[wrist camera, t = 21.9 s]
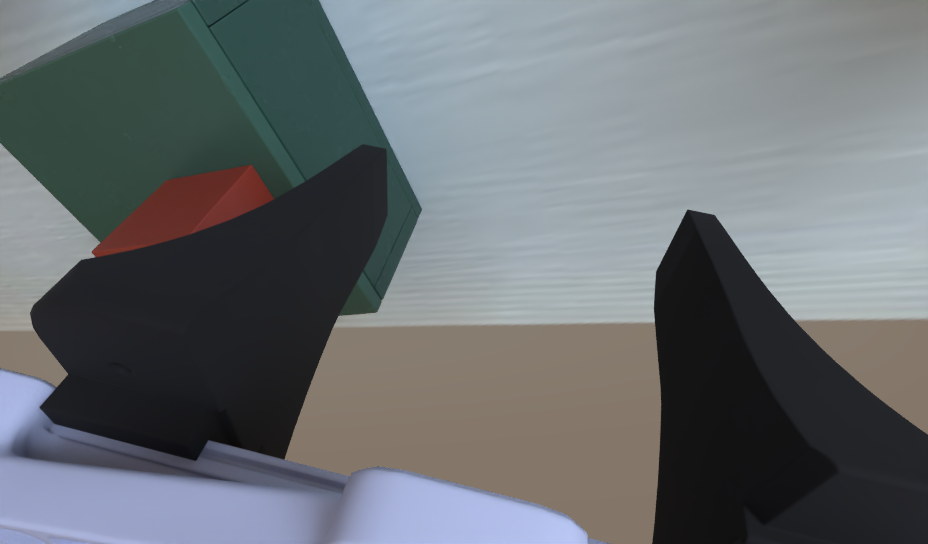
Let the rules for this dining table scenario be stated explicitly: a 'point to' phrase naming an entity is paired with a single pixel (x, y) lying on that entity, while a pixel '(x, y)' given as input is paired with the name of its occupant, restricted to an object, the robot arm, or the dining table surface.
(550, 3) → the dining table surface
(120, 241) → the block
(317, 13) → the bin
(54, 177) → the bin lid
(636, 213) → the dining table surface
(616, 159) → the dining table surface
